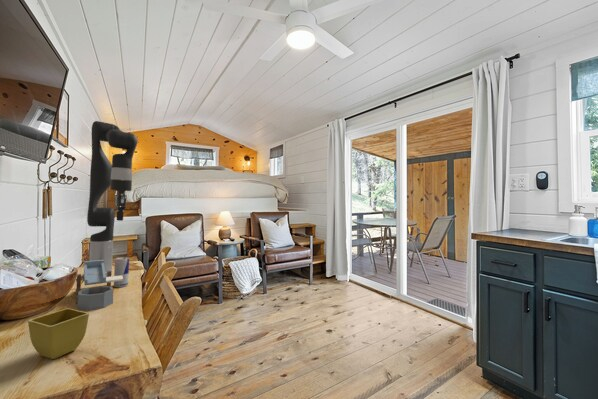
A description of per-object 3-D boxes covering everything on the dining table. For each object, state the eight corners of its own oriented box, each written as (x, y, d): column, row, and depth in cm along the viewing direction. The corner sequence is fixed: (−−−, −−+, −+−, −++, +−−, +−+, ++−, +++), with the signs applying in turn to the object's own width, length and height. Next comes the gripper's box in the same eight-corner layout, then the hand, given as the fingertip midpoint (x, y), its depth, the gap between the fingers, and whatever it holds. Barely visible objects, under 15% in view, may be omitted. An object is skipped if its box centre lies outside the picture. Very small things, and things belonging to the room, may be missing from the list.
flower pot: (25, 357, 66) (26, 319, 66) (66, 341, 74) (68, 307, 74) (48, 366, 63) (50, 326, 63) (88, 348, 71) (90, 312, 71)
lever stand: (75, 291, 113) (76, 270, 113) (108, 287, 119) (109, 267, 120) (75, 304, 99) (76, 280, 99) (112, 298, 106) (113, 275, 106)
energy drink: (131, 284, 124) (132, 257, 124) (122, 287, 119) (123, 259, 119) (119, 283, 125) (120, 256, 125) (110, 287, 120) (111, 259, 120)
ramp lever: (81, 271, 113) (82, 261, 112) (118, 268, 121) (119, 258, 120) (82, 289, 102) (82, 277, 101) (122, 283, 110) (123, 273, 109)
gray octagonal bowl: (77, 303, 101) (78, 289, 101) (110, 297, 107) (111, 284, 107) (77, 312, 93) (78, 297, 93) (113, 305, 99) (114, 291, 99)
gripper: (109, 179, 120) (107, 219, 120) (112, 177, 110) (110, 221, 110) (129, 180, 125) (127, 219, 125) (134, 179, 114) (132, 221, 114)
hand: (119, 220), depth 117 cm, fingers closed
